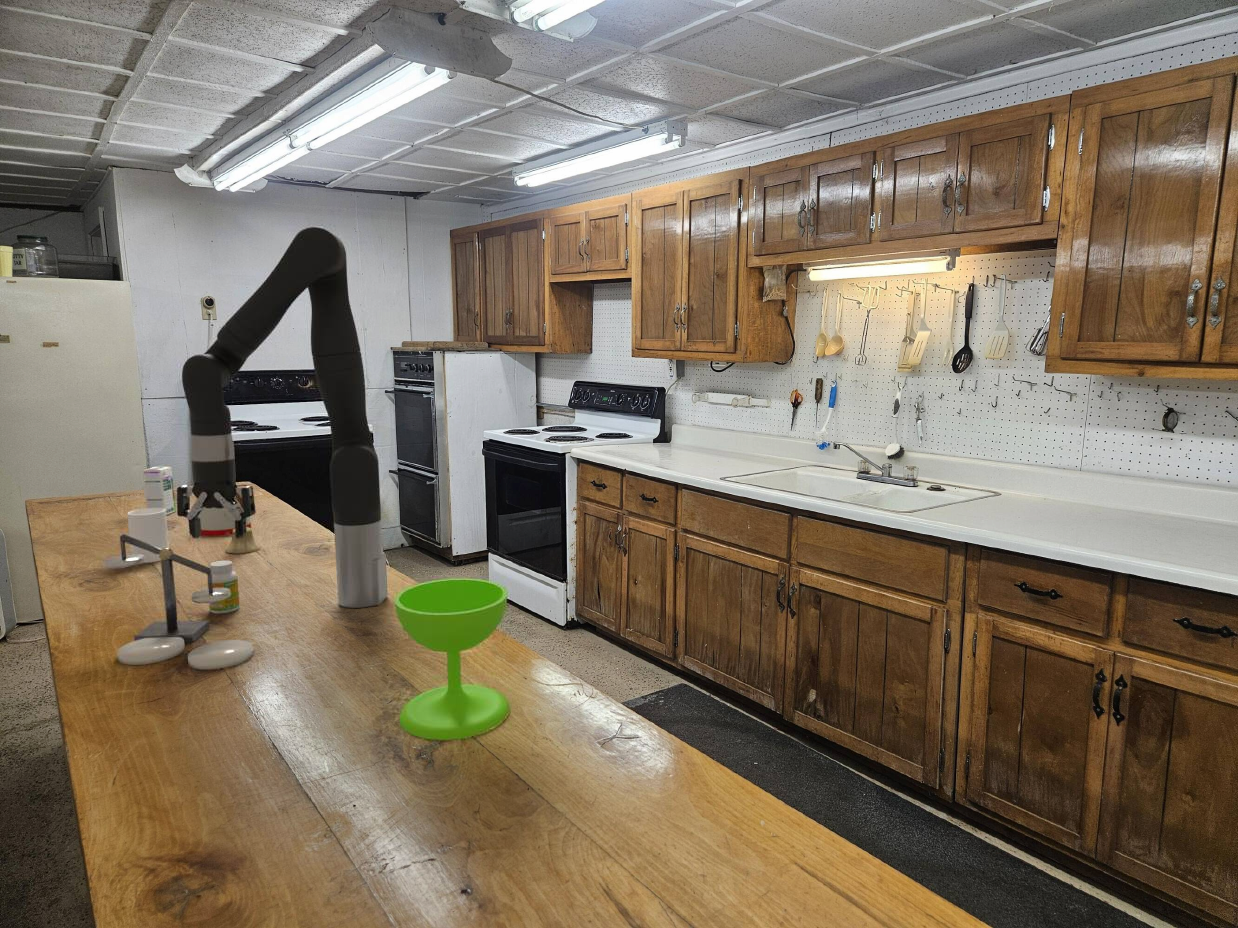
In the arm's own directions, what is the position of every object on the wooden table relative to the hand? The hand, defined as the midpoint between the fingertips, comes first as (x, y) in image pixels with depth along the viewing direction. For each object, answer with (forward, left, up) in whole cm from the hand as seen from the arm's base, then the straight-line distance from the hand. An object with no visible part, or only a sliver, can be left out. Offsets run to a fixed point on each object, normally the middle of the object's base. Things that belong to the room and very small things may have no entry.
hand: (218, 537), depth 155 cm
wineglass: (-55, +44, -15) cm, 72 cm away
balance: (+2, +14, -15) cm, 21 cm away
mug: (+37, -38, -15) cm, 55 cm away
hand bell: (+17, -45, -15) cm, 51 cm away
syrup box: (+61, -86, -15) cm, 107 cm away
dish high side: (+2, +22, -15) cm, 27 cm away
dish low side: (-11, +24, -15) cm, 30 cm away
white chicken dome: (+32, -66, -15) cm, 75 cm away
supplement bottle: (0, 0, -15) cm, 15 cm away
